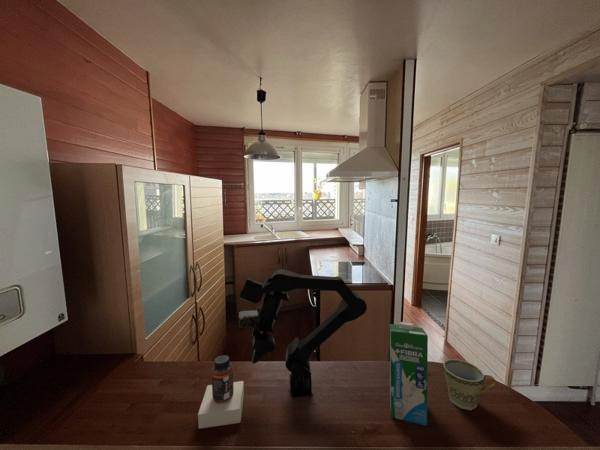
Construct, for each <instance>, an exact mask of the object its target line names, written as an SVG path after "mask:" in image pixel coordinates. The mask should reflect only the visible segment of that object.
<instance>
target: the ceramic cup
mask: <svg viewBox="0 0 600 450" xmlns="http://www.w3.org/2000/svg"><path fill="white" fill-rule="evenodd" d="M443 371H444V376H445V379H446V386H447V390H448V397H449V399H450V402H451V404H454V405H455V406H457V407H458V408H459V409H464V410H466V411H467V410H468V411H472V410H474V409H476V408H477V406H478V402H479V397H480V394H481V393H483V392H484V391H486V390H488V389H489V388H493V387H494V386H496V384H497V381H496V379H495V378H494V376H492V375H489V374H484V372H483V371H482V370H481V369H480V368H479V367H478V366H476V365H474V364H473V363H470V362H469V361H465V360H462V359H456V358H451V359H447V360H445V361H443ZM486 380H493V383H492V384H489V385H486V386H485V387H483V384H484V382H485V381H486Z"/></svg>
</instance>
